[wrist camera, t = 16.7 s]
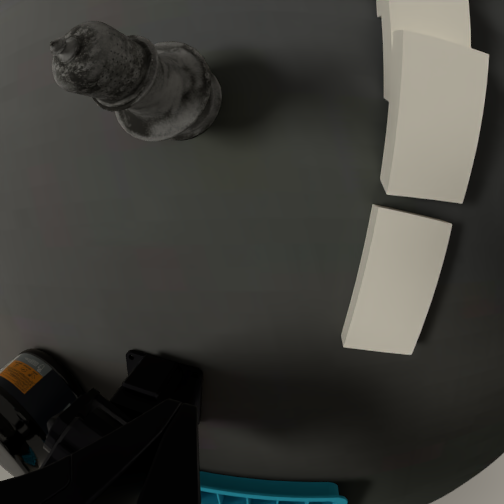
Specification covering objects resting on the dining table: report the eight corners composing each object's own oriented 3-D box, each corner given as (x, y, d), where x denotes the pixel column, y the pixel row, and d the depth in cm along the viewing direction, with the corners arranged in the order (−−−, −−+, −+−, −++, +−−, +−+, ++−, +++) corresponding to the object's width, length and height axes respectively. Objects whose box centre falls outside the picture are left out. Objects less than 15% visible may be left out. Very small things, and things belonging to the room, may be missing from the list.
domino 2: (462, 203, 15) (489, 54, 9) (386, 194, 16) (403, 29, 10) (450, 187, 16) (471, 51, 11) (380, 179, 17) (392, 30, 12)
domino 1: (467, 114, 13) (465, -25, 8) (391, 104, 14) (382, -45, 9) (454, 106, 15) (451, -21, 9) (383, 97, 16) (375, -37, 10)
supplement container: (15, 332, 26) (-56, 383, 15) (83, 363, 25) (6, 440, 14) (37, 400, 29) (-16, 453, 18) (101, 432, 28) (50, 503, 16)
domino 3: (411, 354, 18) (452, 224, 16) (343, 347, 19) (378, 206, 16) (403, 340, 20) (439, 218, 18) (340, 332, 21) (371, 203, 18)
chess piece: (226, 54, 17) (139, -55, 5) (227, 141, 18) (119, 109, 7) (142, 68, 17) (13, 9, 6) (141, 149, 19) (-7, 147, 8)
